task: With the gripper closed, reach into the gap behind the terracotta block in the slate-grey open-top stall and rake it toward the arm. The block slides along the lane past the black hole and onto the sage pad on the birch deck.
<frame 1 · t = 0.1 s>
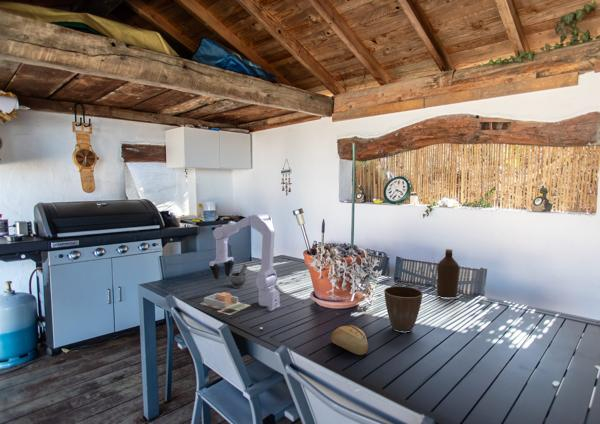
hand: (221, 277, 189), 10 cm above the table, tool pointing down, fingers open, 7 cm apart
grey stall: (221, 300, 176), on the birch deck, point 3 cm above the table
plant pot: (401, 330, 151), on the table
bread roll: (349, 349, 134), on the table
olive oil: (446, 297, 194), on the table
mortar and pestle: (239, 286, 208), on the table
terracotta block: (224, 303, 175), point 1 cm above the table, touching birch deck
birch deck: (225, 307, 174), on the table
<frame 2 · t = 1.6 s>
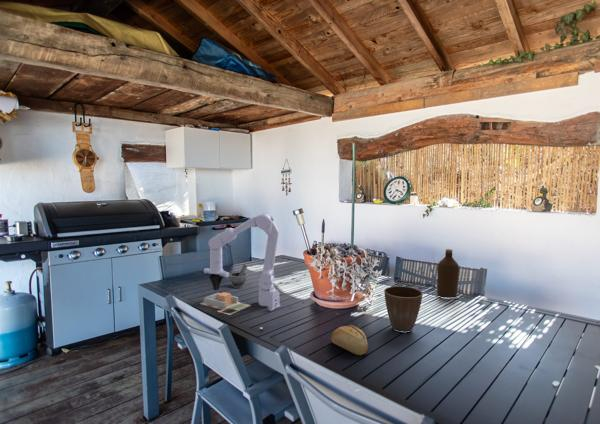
hand: (216, 289, 177), 7 cm above the table, tool pointing down, fingers closed
nothing on the table moved.
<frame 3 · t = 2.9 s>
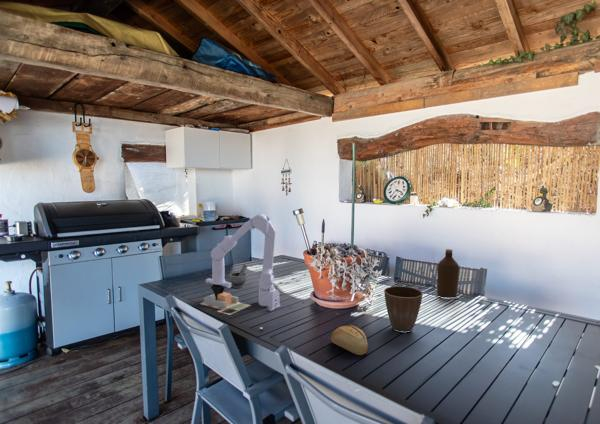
hand: (218, 299, 177), 3 cm above the table, tool pointing down, fingers closed
terracotta block: (224, 303, 175), point 2 cm above the table, touching gripper
everything else where it was.
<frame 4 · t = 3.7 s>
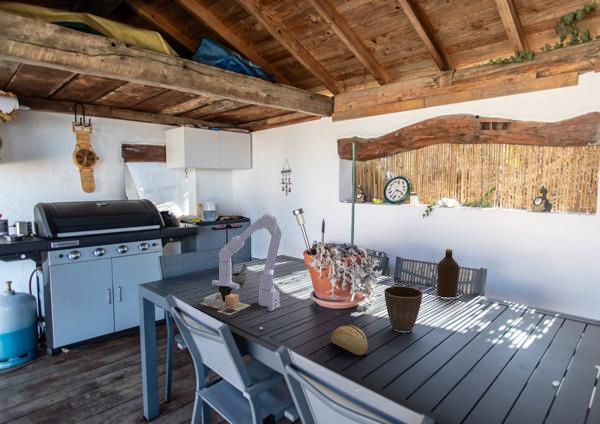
hand: (225, 301, 175), 3 cm above the table, tool pointing down, fingers closed
terracotta block: (232, 305, 173), point 2 cm above the table, touching birch deck, gripper
everything else where it was.
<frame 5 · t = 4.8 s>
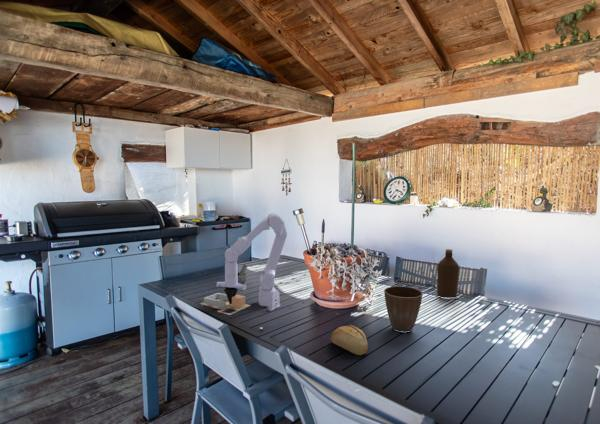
hand: (231, 303, 173), 3 cm above the table, tool pointing down, fingers closed
terracotta block: (238, 306, 172), point 2 cm above the table, touching birch deck, gripper
everything else where it was.
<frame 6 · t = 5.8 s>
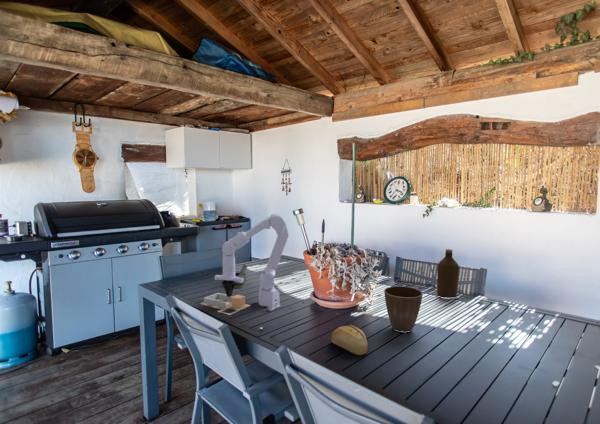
hand: (229, 296, 173), 6 cm above the table, tool pointing down, fingers closed
terracotta block: (238, 306, 172), point 1 cm above the table, touching birch deck
everything else where it was.
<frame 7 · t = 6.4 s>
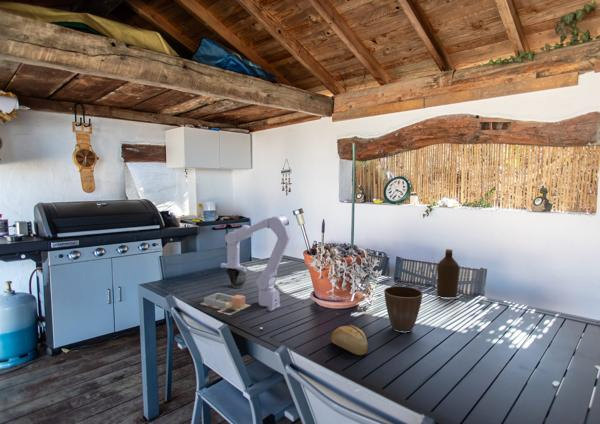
hand: (233, 283, 181), 9 cm above the table, tool pointing down, fingers closed
nothing on the table moved.
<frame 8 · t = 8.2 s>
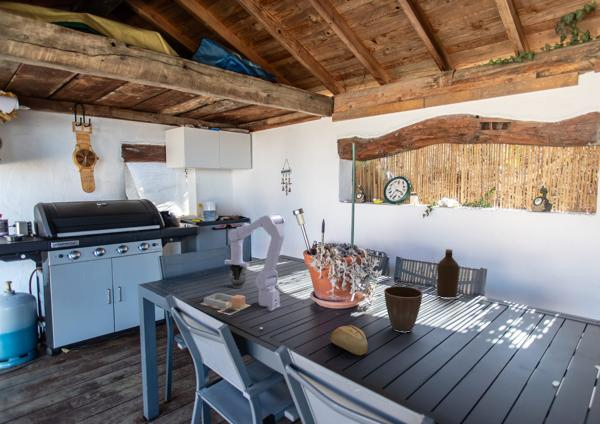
hand: (236, 279, 187), 9 cm above the table, tool pointing down, fingers closed
nothing on the table moved.
at the end: terracotta block 1.1 cm from the target spot, point 1.5 cm above the table; terracotta block tilted 0° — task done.
